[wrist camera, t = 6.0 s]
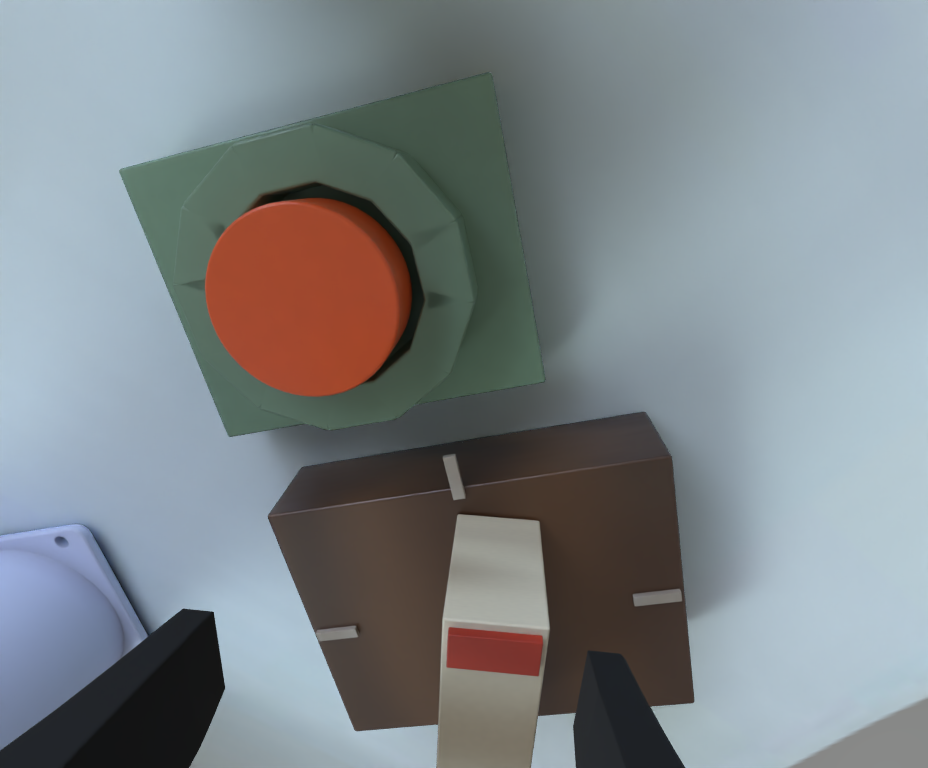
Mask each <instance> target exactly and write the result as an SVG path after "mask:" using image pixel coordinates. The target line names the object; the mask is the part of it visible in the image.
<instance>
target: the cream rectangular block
mask: <svg viewBox="0 0 928 768" xmlns="http://www.w3.org/2000/svg"><path fill="white" fill-rule="evenodd" d="M549 632H550V624H549V613H548V603H547V593H546V583H545V572H544V562H543V552H542V542H541V531H540V522H539V521H536V520H524V519H512V518H500V517H488V516H475V515H463V514H458V515H457V521H456V528H455V535H454V542H453V549H452V556H451V563H450V570H449V577H448V584H447V591H446V598H445V605H444V612H443V619H442V643H441V667H440V692H439V717H438V741H437V766H436V768H531V762H532V755H533V748H534V741H535V734H536V726H537V719H538V712H539V705H540V697H541V690H542V683H543V676H544V668H545V661H546V654H547V647H548V640H549Z"/></svg>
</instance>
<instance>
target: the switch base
mask: <svg viewBox="0 0 928 768" xmlns="http://www.w3.org/2000/svg"><path fill="white" fill-rule="evenodd" d="M458 514H463V515H475V516H488V517H500V518H512V519H524V520H536V521H539V522H540V531H541V542H542V552H543V562H544V572H545V583H546V593H547V603H548V613H549V624H550V632H549V640H548V647H547V654H546V661H545V668H544V676H543V683H542V690H541V697H540V705H539V712H538V716H544V715H556V714H568V713H576V709H577V704H578V699H579V694H580V688H581V683H582V678H583V673H584V667H585V662H586V657H587V652H588V650H590V651H600V652H609V653H619V654H621V655H622V656H623V657H624V658H625V659H626V661H627V663H628V665H629V667H630V669H631V671H632V673H633V675H634V677H635V679H636V681H637V683H638V685H639V687H640V689H641V691H642V693H643V695H644V696H645V698H646V700H647V702H648V704H649V706H650V707H652V706H664V705H676V704H687V703H694V690H693V679H692V668H691V657H690V647H689V636H688V625H687V614H686V603H685V592H684V581H683V571H682V560H681V549H680V538H679V527H678V516H677V505H676V494H675V484H674V473H673V462H672V456H671V454H670V453H669V451H668V449H667V447H666V446H665V444H664V442H663V441H662V439H661V437H660V436H659V434H658V432H657V431H656V429H655V427H654V425H653V424H652V422H651V420H650V419H649V417H648V415H647V414H646V412H640V413H633V414H627V415H621V416H615V417H609V418H603V419H596V420H590V421H584V422H578V423H572V424H566V425H559V426H553V427H547V428H541V429H535V430H528V431H522V432H516V433H510V434H504V435H498V436H491V437H485V438H479V439H473V440H467V441H461V442H454V443H448V444H442V445H436V446H430V447H423V448H417V449H411V450H405V451H399V452H393V453H386V454H380V455H374V456H368V457H362V458H356V459H349V460H343V461H337V462H331V463H325V464H318V465H312V466H306V467H302V468H301V469H300V470H299V472H298V473H297V475H296V476H295V478H294V479H293V480H292V482H291V483H290V485H289V486H288V488H287V489H286V490H285V492H284V493H283V495H282V496H281V498H280V499H279V500H278V502H277V503H276V505H275V506H274V508H273V509H272V510H271V512H270V513H269V515H268V519H269V522H270V524H271V527H272V529H273V531H274V534H275V536H276V539H277V541H278V544H279V546H280V549H281V551H282V554H283V556H284V558H285V561H286V563H287V566H288V568H289V571H290V573H291V576H292V578H293V580H294V583H295V585H296V588H297V590H298V593H299V595H300V598H301V600H302V602H303V605H304V607H305V610H306V612H307V615H308V617H309V620H310V622H311V625H312V627H313V629H314V632H315V634H316V637H317V639H318V642H319V644H320V647H321V649H322V651H323V654H324V656H325V659H326V661H327V664H328V666H329V669H330V671H331V674H332V676H333V678H334V681H335V683H336V686H337V688H338V691H339V693H340V696H341V698H342V700H343V703H344V705H345V708H346V710H347V713H348V715H349V718H350V720H351V723H352V725H353V727H354V730H355V731H365V730H377V729H389V728H401V727H413V726H425V725H437V724H438V717H439V692H440V667H441V643H442V619H443V612H444V605H445V598H446V591H447V584H448V577H449V570H450V563H451V556H452V549H453V542H454V535H455V528H456V521H457V515H458Z"/></svg>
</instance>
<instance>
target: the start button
mask: <svg viewBox="0 0 928 768" xmlns="http://www.w3.org/2000/svg"><path fill="white" fill-rule="evenodd" d="M205 294H206V303H207V308H208V313H209V316H210V319H211V322H212V325H213V327H214V329H215V331H216V334H217V336H218V337H219V339H220V341H221V342H222V344H223V346H224V347H225V349H226V350H227V351H228V353H229V354H230V355H231V356H232V358H233V359H234V360H235V361H236V362H237V363H238V364H239V365H240V366H241V367H242V368H243V369H245V370H246V371H247V372H248V373H249V374H251V375H252V376H253V377H255V378H256V379H258V380H259V381H261V382H263V383H265V384H267V385H269V386H271V387H272V388H275V389H278V390H280V391H283V392H286V393H290V394H294V395H300V396H310V397H321V396H330V395H335V394H339V393H343V392H346V391H348V390H351V389H353V388H355V387H357V386H359V385H360V384H362V383H364V382H365V381H366V380H368V379H369V378H370V377H372V376H373V375H374V374H375V373H376V372H377V371H378V370H379V369H380V368H381V366H382V365H383V364H384V362H385V361H386V359H387V358H388V357H389V355H390V353H391V352H392V350H393V349H394V347H395V346H396V344H397V343H398V341H399V340H400V338H401V336H402V334H403V332H404V330H405V328H406V326H407V323H408V320H409V316H410V312H411V306H412V284H411V279H410V274H409V270H408V267H407V264H406V261H405V259H404V257H403V255H402V252H401V250H400V249H399V247H398V246H397V244H396V242H395V241H394V239H393V238H392V237H391V236H390V234H389V233H388V232H387V231H386V229H384V228H383V227H382V226H381V225H380V224H379V223H378V222H377V221H376V220H375V219H373V218H372V217H371V216H369V215H368V214H367V213H365V212H363V211H361V210H360V209H358V208H356V207H354V206H351V205H349V204H347V203H344V202H340V201H337V200H333V199H325V198H305V199H296V200H287V201H279V202H273V203H268V204H265V205H262V206H259V207H256V208H254V209H252V210H250V211H248V212H246V213H244V214H243V215H242V216H240V217H239V218H237V219H236V220H235V221H234V222H233V223H232V224H231V225H230V226H229V227H228V228H227V229H226V230H225V231H224V232H223V234H222V235H221V236H220V238H219V239H218V241H217V243H216V245H215V247H214V249H213V251H212V254H211V256H210V259H209V262H208V266H207V271H206V280H205Z"/></svg>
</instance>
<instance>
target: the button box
mask: <svg viewBox="0 0 928 768" xmlns="http://www.w3.org/2000/svg"><path fill="white" fill-rule="evenodd" d="M119 172H120V175H121V177H122V180H123V182H124V184H125V187H126V189H127V192H128V194H129V197H130V199H131V201H132V204H133V206H134V209H135V211H136V214H137V216H138V218H139V221H140V223H141V226H142V228H143V230H144V233H145V235H146V238H147V240H148V243H149V245H150V247H151V250H152V252H153V255H154V257H155V260H156V262H157V264H158V267H159V269H160V272H161V274H162V277H163V279H164V281H165V284H166V286H167V289H168V291H169V293H170V296H171V298H172V301H173V303H174V306H175V308H176V310H177V313H178V315H179V318H180V320H181V323H182V325H183V327H184V330H185V332H186V335H187V337H188V340H189V342H190V344H191V347H192V349H193V352H194V354H195V356H196V359H197V361H198V364H199V366H200V369H201V371H202V373H203V376H204V378H205V381H206V383H207V386H208V388H209V390H210V393H211V395H212V398H213V400H214V402H215V405H216V407H217V410H218V412H219V415H220V417H221V419H222V422H223V424H224V427H225V429H226V432H227V434H228V436H229V437H233V436H238V435H244V434H250V433H256V432H261V431H267V430H273V429H279V428H284V427H290V426H296V425H302V424H309V425H312V426H315V427H318V428H321V429H324V430H337V429H343V428H348V427H354V426H360V425H366V424H372V423H378V422H383V421H389V420H395V419H397V418H399V417H401V416H402V415H403V414H404V413H406V412H407V411H408V410H409V409H410V408H412V407H413V406H414V405H416V404H422V403H428V402H434V401H439V400H445V399H451V398H456V397H462V396H468V395H474V394H479V393H485V392H491V391H497V390H502V389H508V388H514V387H520V386H525V385H531V384H537V383H542V382H545V380H546V379H545V373H544V367H543V362H542V356H541V350H540V345H539V339H538V333H537V328H536V322H535V316H534V310H533V305H532V299H531V293H530V288H529V282H528V276H527V270H526V265H525V259H524V253H523V248H522V242H521V236H520V231H519V225H518V219H517V213H516V208H515V202H514V196H513V191H512V185H511V179H510V173H509V168H508V162H507V156H506V151H505V145H504V139H503V134H502V128H501V122H500V116H499V111H498V105H497V99H496V94H495V88H494V82H493V76H492V74H491V73H490V72H488V73H484V74H480V75H476V76H472V77H468V78H465V79H461V80H457V81H453V82H449V83H446V84H442V85H438V86H434V87H430V88H427V89H423V90H419V91H415V92H411V93H408V94H404V95H400V96H396V97H392V98H389V99H385V100H381V101H377V102H373V103H369V104H366V105H362V106H358V107H354V108H350V109H347V110H343V111H339V112H335V113H331V114H328V115H324V116H320V117H316V118H312V119H309V120H305V121H301V122H297V123H293V124H289V125H286V126H282V127H278V128H274V129H270V130H267V131H263V132H259V133H255V134H251V135H248V136H244V137H240V138H236V139H232V140H229V141H225V142H221V143H217V144H213V145H210V146H206V147H202V148H198V149H194V150H190V151H187V152H183V153H179V154H175V155H171V156H168V157H164V158H160V159H156V160H152V161H149V162H145V163H141V164H137V165H133V166H130V167H126V168H122V169H120V170H119ZM305 198H325V199H333V200H337V201H340V202H344V203H347V204H349V205H351V206H354V207H356V208H358V209H360V210H361V211H363V212H365V213H367V214H368V215H369V216H371V217H372V218H373V219H375V220H376V221H377V222H378V223H379V224H380V225H381V226H382V227H383V228H384V229H386V231H387V232H388V233H389V234H390V236H391V237H392V238H393V239H394V241H395V242H396V244H397V246H398V247H399V249H400V250H401V252H402V255H403V257H404V259H405V261H406V264H407V267H408V270H409V274H410V279H411V284H412V306H411V312H410V316H409V320H408V323H407V326H406V328H405V330H404V332H403V334H402V336H401V338H400V340H399V341H398V343H397V344H396V346H395V347H394V349H393V350H392V352H391V353H390V355H389V357H388V358H387V359H386V361H385V362H384V364H383V365H382V366H381V368H380V369H379V370H378V371H377V372H376V373H375V374H374V375H373V376H372V377H370V378H369V379H368V380H366V381H365V382H364V383H362V384H360V385H359V386H357V387H355V388H353V389H351V390H348V391H346V392H343V393H339V394H335V395H330V396H321V397H310V396H300V395H294V394H290V393H286V392H283V391H280V390H278V389H275V388H272V387H271V386H269V385H267V384H265V383H263V382H261V381H259V380H258V379H256V378H255V377H253V376H252V375H251V374H249V373H248V372H247V371H246V370H245V369H243V368H242V367H241V366H240V365H239V364H238V363H237V362H236V361H235V360H234V359H233V358H232V356H231V355H230V354H229V353H228V351H227V350H226V349H225V347H224V346H223V344H222V342H221V341H220V339H219V337H218V336H217V334H216V331H215V329H214V327H213V325H212V322H211V319H210V316H209V313H208V308H207V303H206V294H205V280H206V271H207V266H208V262H209V259H210V256H211V254H212V251H213V249H214V247H215V245H216V243H217V241H218V239H219V238H220V236H221V235H222V234H223V232H224V231H225V230H226V229H227V228H228V227H229V226H230V225H231V224H232V223H233V222H234V221H235V220H236V219H237V218H239V217H240V216H242V215H243V214H244V213H246V212H248V211H250V210H252V209H254V208H256V207H259V206H262V205H265V204H268V203H273V202H279V201H287V200H296V199H305Z"/></svg>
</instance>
